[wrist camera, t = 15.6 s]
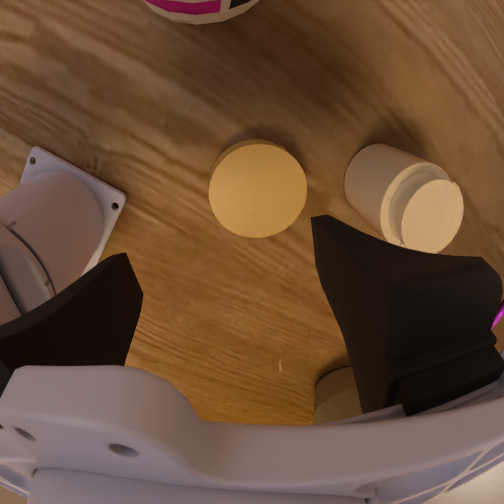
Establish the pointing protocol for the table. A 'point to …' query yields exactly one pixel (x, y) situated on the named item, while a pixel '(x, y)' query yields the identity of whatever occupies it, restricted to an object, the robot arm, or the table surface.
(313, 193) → the table surface
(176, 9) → the supplement can
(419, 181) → the jar
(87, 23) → the table surface
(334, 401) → the squeeze bottle
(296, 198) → the lid
